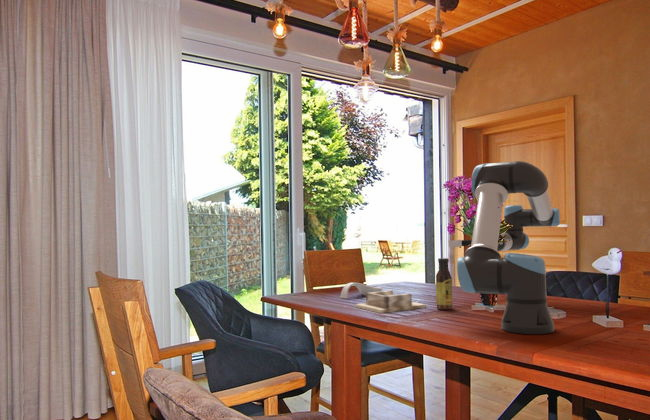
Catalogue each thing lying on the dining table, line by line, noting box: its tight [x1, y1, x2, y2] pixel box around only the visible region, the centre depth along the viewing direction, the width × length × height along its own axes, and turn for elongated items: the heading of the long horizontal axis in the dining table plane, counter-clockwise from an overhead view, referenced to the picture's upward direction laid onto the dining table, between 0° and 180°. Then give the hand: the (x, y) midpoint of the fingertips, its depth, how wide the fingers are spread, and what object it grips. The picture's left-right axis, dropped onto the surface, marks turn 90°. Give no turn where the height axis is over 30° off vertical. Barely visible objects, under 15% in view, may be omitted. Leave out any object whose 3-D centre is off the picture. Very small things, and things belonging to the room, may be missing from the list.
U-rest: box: [355, 289, 427, 314], centre depth 201 cm, size 22×18×6 cm
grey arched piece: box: [340, 281, 383, 300], centre depth 236 cm, size 24×12×7 cm, turn 131°
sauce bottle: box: [435, 257, 453, 311], centre depth 195 cm, size 6×6×20 cm
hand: (461, 244), depth 200 cm, fingers open, 13 cm apart
